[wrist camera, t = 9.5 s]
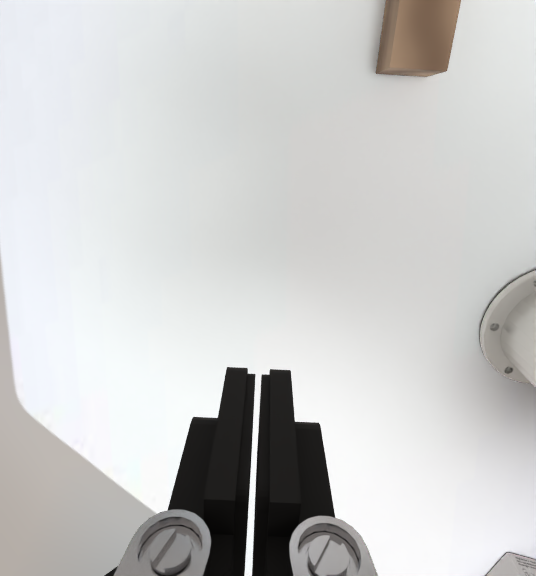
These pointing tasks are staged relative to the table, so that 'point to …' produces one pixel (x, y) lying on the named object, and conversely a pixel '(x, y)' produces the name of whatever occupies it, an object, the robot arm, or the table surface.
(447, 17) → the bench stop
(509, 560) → the cereal box
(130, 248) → the table surface
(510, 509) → the table surface
